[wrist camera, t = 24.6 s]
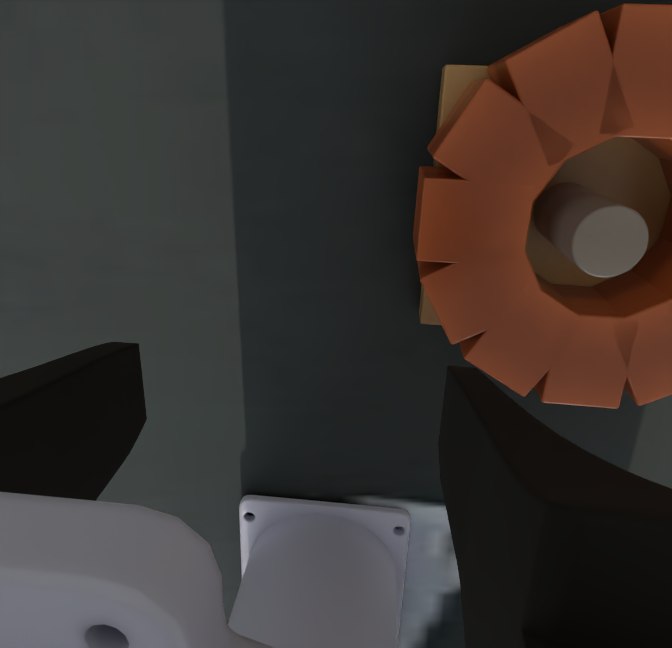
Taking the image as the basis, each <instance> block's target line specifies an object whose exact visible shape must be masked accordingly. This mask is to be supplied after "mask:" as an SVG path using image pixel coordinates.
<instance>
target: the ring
mask: <svg viewBox="0 0 672 648" xmlns="http://www.w3.org/2000/svg"><path fill="white" fill-rule="evenodd" d="M487 69H488V72H489V74H490V77H491V79H492V80H490V79H489V78H484V79H481V80H477V81H473V82H471V83H470V84H469V85H468V87H467V88H466V90H465V91H464V93H463V94H462V96H461V97H460V99H459V100H458V102H457V103H456V105H455V106H454V108H453V109H452V110H451V112H450V113H449V115H448V116H447V118H446V119H445V121H444V122H443V124H442V125H441V127H440V128H439V130H438V131H437V133H436V134H435V136H434V137H433V139H432V140H431V142H430V143H429V145H428V146H427V150H428V151H429V153H430V154H431V155H432V157H433V158H434V159H435V160H436V161H438V162H439V163H441V164H442V165H444V166H445V167H430V166H420V167H419V176H418V186H417V197H416V208H415V218H414V229H413V241H414V248H415V255H416V260H417V263H418V270H419V277H420V282H421V284H422V286H423V288H424V290H425V292H426V294H427V296H428V298H429V300H430V302H431V304H432V306H433V308H434V310H435V313H436V315H437V317H438V319H439V321H440V323H441V325H442V327H443V329H444V331H445V333H446V335H447V337H448V339H449V341H450V343H451V344H456V343H458V342H459V343H460V347H461V350H462V354H463V358H464V359H465V360H467V361H468V362H470V363H471V364H473V365H474V366H476V367H478V368H479V369H481V370H482V371H484V372H485V373H487V374H489V375H490V376H492V377H493V378H495V379H496V380H498V381H499V382H501V383H503V384H504V385H506V386H507V387H509V388H510V389H512V390H514V391H515V392H517V393H518V394H520V395H521V396H523V397H525V396H526V395H527V394H528V393H529V392H530V390H531V389H532V388H533V387H535V389H536V391H537V393H538V395H539V397H540V399H541V401H542V402H544V403H554V404H566V405H578V406H590V407H602V408H614V409H617V408H618V407H619V404H620V401H621V397H622V393H623V389H625V390H626V392H627V393H628V394H629V395H630V397H631V398H632V399H633V400H634V402H635V403H636V404H637V405H638V406H641V405H643V404H646V403H649V402H652V401H655V400H658V399H660V398H663V397H666V396H669V395H672V5H665V4H632V3H624V4H622V5H620V6H617V7H615V8H613V9H610V10H608V11H606V12H603V13H601V14H599V12H598V11H594V12H591V13H589V14H587V15H585V16H583V17H580V18H578V19H576V20H574V21H572V22H569V23H567V24H565V25H563V26H561V27H559V28H557V29H555V30H553V31H551V32H550V33H548V34H546V35H544V36H542V37H540V38H539V39H537V40H535V41H533V42H531V43H529V44H528V45H526V46H524V47H522V48H520V49H518V50H516V51H515V52H513V53H511V54H509V55H507V56H505V57H504V58H502V59H500V60H498V61H496V62H494V63H492V64H491V65H489V66H488V67H487ZM615 137H629V138H632V139H634V140H635V141H636V142H638V143H639V144H641V145H642V146H643V147H645V148H646V149H647V150H649V151H650V152H651V153H653V154H654V155H656V156H657V157H658V158H659V160H660V163H661V166H662V169H663V172H664V175H665V178H666V182H667V185H668V188H669V191H670V194H671V198H670V202H669V205H668V209H667V213H666V217H665V221H664V224H663V228H662V232H661V236H660V238H659V240H658V241H657V242H656V243H655V244H654V245H653V246H652V247H651V248H650V250H649V251H648V252H647V253H646V254H645V255H644V256H643V257H642V258H641V260H640V261H639V262H638V263H637V264H636V265H635V266H634V267H633V268H632V269H631V270H630V271H628V272H625V273H623V274H620V275H618V276H616V277H613V278H611V279H608V280H606V281H604V282H601V283H599V284H596V285H594V286H592V287H588V286H573V285H558V284H551V283H550V282H548V281H547V280H545V279H544V278H542V277H541V276H539V275H538V274H536V273H535V272H534V270H533V268H532V265H531V263H530V260H529V258H528V256H527V253H526V251H525V248H526V242H527V236H528V230H529V224H530V219H531V213H532V207H533V202H534V201H535V199H536V198H537V197H538V195H539V194H540V193H541V192H542V190H543V189H544V188H545V186H546V185H547V184H548V183H549V181H550V180H551V179H552V178H553V176H554V175H555V174H556V172H557V171H558V170H559V169H560V167H561V166H562V165H563V163H564V162H565V161H567V160H569V159H571V158H573V157H575V156H577V155H579V154H581V153H583V152H585V151H587V150H590V149H592V148H594V147H596V146H598V145H600V144H602V143H604V142H606V141H608V140H610V139H612V138H615Z"/></svg>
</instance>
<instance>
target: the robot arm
mask: <svg viewBox="0 0 672 648" xmlns="http://www.w3.org/2000/svg"><path fill="white" fill-rule="evenodd" d="M146 420H147V417H146V408H145V398H144V389H143V380H142V370H141V361H140V352H139V344H137V343H123V342H110V343H105V344H101V345H97V346H94V347H91V348H88V349H85V350H82V351H79V352H76V353H73V354H70V355H67V356H64V357H62V358H59V359H56V360H53V361H50V362H47V363H45V364H42V365H39V366H36V367H33V368H30V369H27V370H24V371H21V372H18V373H15V374H12V375H9V376H5V377H2V378H0V648H398V638H399V629H400V619H401V610H402V600H403V591H404V581H405V572H406V563H407V553H408V544H409V534H410V525H411V518H410V514H409V513H408V511H406V510H404V509H400V508H390V507H379V506H368V505H357V504H346V503H335V502H324V501H313V500H302V499H291V498H281V497H270V496H259V495H246V496H244V497H243V498H242V499H241V501H240V505H239V518H240V544H241V570H242V581H241V584H240V588H239V591H238V594H237V597H236V600H235V603H234V607H233V610H232V613H231V616H230V619H229V622H228V625H227V622H226V618H225V613H224V609H223V591H222V575H221V573H220V570H219V568H218V565H217V562H216V560H215V557H214V555H213V552H212V550H211V547H210V544H209V543H208V542H207V541H205V540H204V539H203V538H202V537H201V536H200V535H198V534H197V533H196V532H195V531H194V530H192V529H191V528H190V527H189V526H188V525H187V524H185V523H184V522H183V521H182V520H181V519H180V518H178V517H176V516H173V515H169V514H166V513H163V512H160V511H157V510H153V509H150V508H147V507H144V506H140V505H134V504H124V503H113V502H103V501H96V499H97V498H98V496H99V495H100V494H101V492H102V491H103V490H104V488H105V487H106V485H107V484H108V483H109V481H110V480H111V479H112V477H113V476H114V474H115V473H116V472H117V470H118V469H119V467H120V466H121V465H122V463H123V462H124V460H125V459H126V457H127V456H128V455H129V453H130V451H131V449H132V448H133V446H134V444H135V442H136V440H137V438H138V436H139V434H140V432H141V430H142V428H143V426H144V424H145V422H146ZM438 444H439V463H440V478H441V484H442V490H443V495H444V500H445V505H446V510H447V515H448V520H449V525H450V530H451V535H452V540H453V545H454V549H455V554H456V559H457V565H458V571H459V578H460V585H461V597H462V608H463V619H464V631H465V643H466V648H672V489H671V488H668V487H665V486H663V485H660V484H657V483H655V482H652V481H649V480H647V479H644V478H642V477H640V476H637V475H635V474H633V473H630V472H628V471H626V470H623V469H621V468H619V467H617V466H615V465H613V464H611V463H609V462H607V461H605V460H603V459H601V458H598V457H597V456H595V455H593V454H591V453H589V452H587V451H585V450H583V449H582V448H580V447H578V446H577V445H575V444H573V443H572V442H570V441H568V440H567V439H565V438H563V437H562V436H560V435H559V434H557V433H556V432H554V431H552V430H551V429H550V428H548V427H547V426H545V425H544V424H543V423H541V422H540V421H539V420H537V419H536V418H534V417H533V416H532V415H530V414H529V413H528V412H527V411H525V410H524V409H523V408H522V407H520V406H519V405H518V404H517V403H515V402H514V401H513V400H512V399H511V398H510V397H508V396H507V395H506V394H505V393H504V392H503V391H502V390H500V389H499V388H498V387H497V386H496V385H495V384H494V383H493V382H492V381H490V380H489V379H488V378H487V377H486V376H485V375H484V374H483V373H481V372H480V371H479V370H478V369H476V368H470V367H457V366H448V369H447V377H446V385H445V393H444V402H443V410H442V418H441V427H440V435H439V443H438ZM248 512H250V513H253V514H254V515H253V516H251V515H249V514H247V513H248ZM399 526H400V527H402V529H399V530H398V529H395V527H399Z"/></svg>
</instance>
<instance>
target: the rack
mask: <svg viewBox="0 0 672 648" xmlns="http://www.w3.org/2000/svg"><path fill="white" fill-rule="evenodd" d="M487 67H488V66H480V65H445V66H444V67H443V68H442V76H441V87H440V97H439V108H438V118H437V129H436V133H437V131H438V130H439V128H440V127H441V125H442V124H443V122H444V121H445V119H446V118H447V116H448V115H449V113H450V112H451V110H452V109H453V108H454V106H455V105H456V103H457V102H458V100H459V99H460V97H461V96H462V94H463V93H464V91H465V90H466V88H467V87H468V85H469V84H470V83H471V82H473V81H477V80H481V79H484V78H489V79H490V80H492V79H491V77H490V74H489V72H488V69H487ZM433 167H445V166H444V165H442V164H441V163H439V162H438V161H436V160H435V159H434V160H433ZM670 198H671V194H670V191H669V188H668V185H667V182H666V178H665V175H664V172H663V169H662V166H661V163H660V160H659V158H658V157H657V156H656V155H654V154H653V153H651V152H650V151H649V150H647V149H646V148H645V147H643V146H642V145H641V144H639V143H638V142H636V141H635V140H634V139H632V138H629V137H615V138H612V139H610V140H608V141H606V142H604V143H602V144H600V145H598V146H596V147H594V148H592V149H590V150H587V151H585V152H583V153H581V154H579V155H577V156H575V157H573V158H571V159H569V160H567V161H565V162H564V163H563V165H562V166H561V167H560V169H559V170H558V171H557V172H556V174H555V175H554V176H553V178H552V179H551V180H550V181H549V183H548V184H547V185H546V186H545V188H544V189H543V190H542V192H541V193H540V194H539V195H538V197H537V198H536V199H535V201H534V202H533V207H532V213H531V219H530V224H529V230H528V236H527V242H526V248H525V251H526V253H527V256H528V258H529V260H530V263H531V265H532V268H533V270H534V272H535V273H536V274H538V275H539V276H541V277H542V278H544V279H545V280H547V281H548V282H550V283H551V284H558V285H573V286H588V287H592V286H594V285H596V284H599V283H601V282H604V281H606V280H608V279H611V278H613V277H616V276H618V275H620V274H623V273H625V272H628V271H630V270H631V269H632V268H633V267H634V266H635V265H636V264H637V263H638V262H639V261H640V260H641V258H642V257H643V256H644V255H645V254H646V253H647V252H648V251H649V250H650V248H651V247H652V246H653V245H654V244H655V243H656V242H657V241H658V240H659V238H660V236H661V232H662V228H663V224H664V221H665V217H666V213H667V209H668V205H669V202H670ZM419 317H420V323H421V324H430V325H441V323H440V321H439V319H438V317H437V315H436V313H435V310H434V308H433V306H432V304H431V302H430V300H429V298H428V296H427V294H426V292H425V290H424V288H423V286H421V296H420V307H419Z"/></svg>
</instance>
